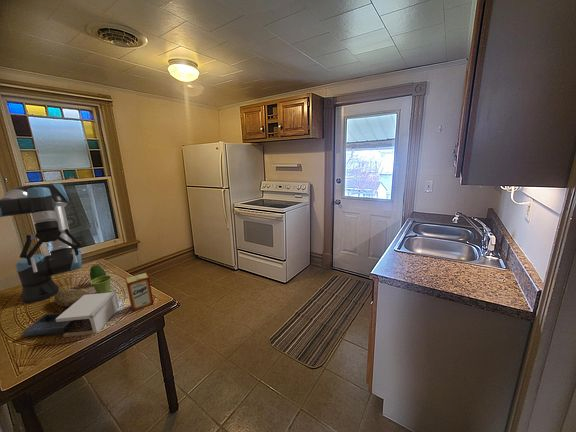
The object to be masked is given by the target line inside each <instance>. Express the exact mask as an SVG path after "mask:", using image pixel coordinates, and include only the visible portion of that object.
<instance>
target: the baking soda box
mask: <svg viewBox="0 0 576 432" xmlns="http://www.w3.org/2000/svg"><path fill="white" fill-rule="evenodd" d="M125 284H126V288H127V293H128V297H129V298H128V299H129V303H130V306H131V309H132V312H135V311H138V310H140V309H143V308H144V309H145V307H146V306H147V307H149V306H152V305H154V304H155V303H154V298H153V293H152V292H153V291H152V287H151V282H150V277H149V275H148V273H147V272H144V273H140V274H136V275H133V276H130V277H126V278H125ZM153 303H154V304H153ZM151 304H152V305H151ZM148 305H149V306H148Z"/></svg>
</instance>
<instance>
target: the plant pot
mask: <svg viewBox="0 0 576 432" xmlns="http://www.w3.org/2000/svg"><path fill="white" fill-rule="evenodd" d="M111 279H112V276H111V275H106V276H101V277H98V278H95V279H93V280H91V281H90V284H91V285H92V286H93V288H94V290H95V292H96V294H100V293H110V292H111V291H112V287H111V281H112V280H111Z"/></svg>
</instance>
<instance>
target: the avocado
mask: <svg viewBox="0 0 576 432" xmlns="http://www.w3.org/2000/svg"><path fill="white" fill-rule="evenodd" d="M106 272H107V271H105V269H104V268H103V267H102V266H101V265H99V264H93V265H92V266H91V267H90V270H89V278H90V280H91V281H92V280H93V279H95V278H98V277H101V276H107V273H106Z"/></svg>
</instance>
